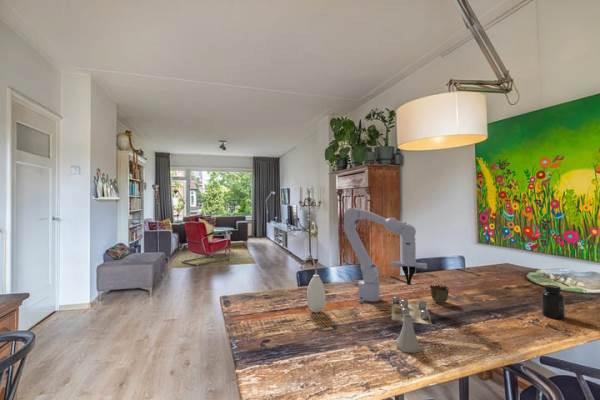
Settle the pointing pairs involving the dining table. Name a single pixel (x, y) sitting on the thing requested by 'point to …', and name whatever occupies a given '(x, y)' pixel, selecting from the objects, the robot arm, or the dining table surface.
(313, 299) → the sauce bottle
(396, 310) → the brass nut
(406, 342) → the flask
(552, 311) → the supplement bottle
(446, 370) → the dining table surface
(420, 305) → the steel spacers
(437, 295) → the cup
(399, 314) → the birch board
